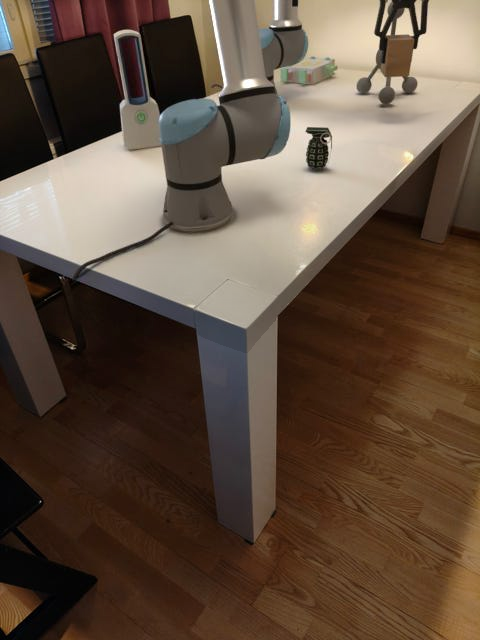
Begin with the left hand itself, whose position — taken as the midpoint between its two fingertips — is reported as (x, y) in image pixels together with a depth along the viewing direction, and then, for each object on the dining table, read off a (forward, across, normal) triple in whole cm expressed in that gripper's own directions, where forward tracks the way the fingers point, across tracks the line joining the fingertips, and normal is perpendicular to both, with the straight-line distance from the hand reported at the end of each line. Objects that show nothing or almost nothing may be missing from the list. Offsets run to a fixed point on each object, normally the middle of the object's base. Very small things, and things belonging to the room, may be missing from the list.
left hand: (347, 3), depth 63 cm
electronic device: (+41, +51, -72) cm, 97 cm away
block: (+27, -25, -90) cm, 97 cm away
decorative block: (+41, -2, -153) cm, 158 cm away
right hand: (+24, -25, -90) cm, 96 cm away
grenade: (+41, -1, -49) cm, 64 cm away
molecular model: (+41, -31, -119) cm, 130 cm away
